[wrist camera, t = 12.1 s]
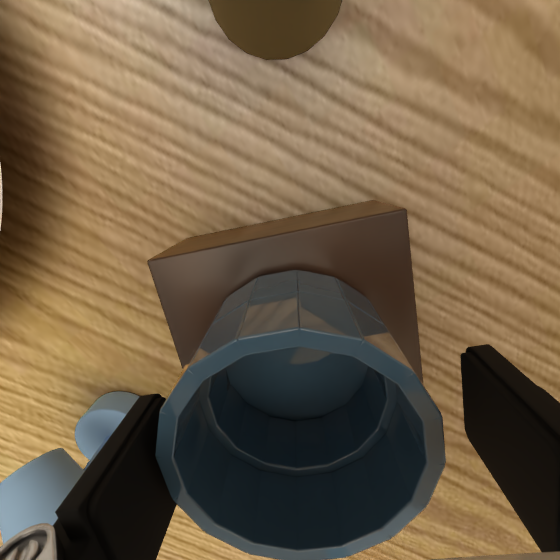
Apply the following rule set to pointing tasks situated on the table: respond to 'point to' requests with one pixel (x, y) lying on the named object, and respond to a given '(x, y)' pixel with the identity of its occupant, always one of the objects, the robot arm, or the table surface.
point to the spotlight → (58, 468)
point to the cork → (275, 24)
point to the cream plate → (0, 196)
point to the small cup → (299, 424)
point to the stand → (294, 268)
